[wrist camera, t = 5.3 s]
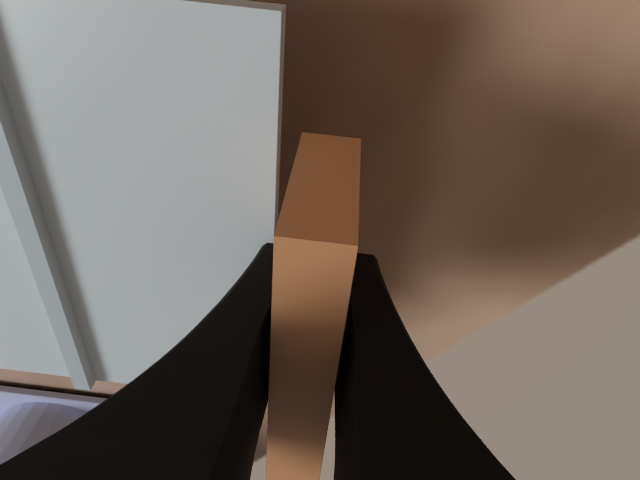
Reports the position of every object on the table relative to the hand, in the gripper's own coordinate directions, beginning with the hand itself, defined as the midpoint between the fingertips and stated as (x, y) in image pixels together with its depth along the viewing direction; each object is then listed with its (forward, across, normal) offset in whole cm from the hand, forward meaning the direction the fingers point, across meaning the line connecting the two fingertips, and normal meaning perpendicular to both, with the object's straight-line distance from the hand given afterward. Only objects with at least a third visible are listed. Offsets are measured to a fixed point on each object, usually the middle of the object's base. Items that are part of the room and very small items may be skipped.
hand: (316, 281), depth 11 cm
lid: (+1, +9, 0) cm, 9 cm away
